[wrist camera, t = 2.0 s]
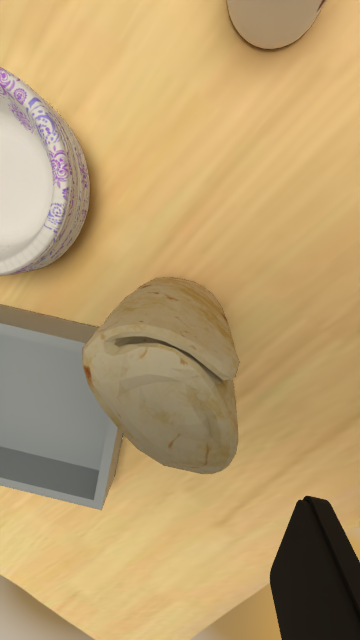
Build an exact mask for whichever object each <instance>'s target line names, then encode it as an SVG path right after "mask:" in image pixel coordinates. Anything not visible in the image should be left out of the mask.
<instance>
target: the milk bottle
mask: <svg viewBox="0 0 360 640" xmlns="http://www.w3.org/2000/svg"><path fill="white" fill-rule="evenodd" d="M325 1H326V0H227V5H228V11H229V14H230V18H231V20H232V23H233V25H234V27H235V28H236V30H237V31H238V32H239V34H240V35H241V36H242V37H243V38H244V39H245V40H246V41H247V42H249V43H251V44H252V45H254V46H256V47H260V48H263V49H275V48H281V47H283V46H286V45H289V44H291V43H293V42H294V41H296V40H297V39H299V38H300V37H301V36H302V35H303V34H304V33H305V32H306V31H307V30H308V29H309V28H310V27H311V25H312V24H313V23H314V21H315V19H316V18H317V16H318V14H319V12H320V10H321V9H322V7H323V5H324V3H325Z"/></svg>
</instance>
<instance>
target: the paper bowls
mask: <svg viewBox="0 0 360 640" xmlns="http://www.w3.org/2000/svg"><path fill="white" fill-rule="evenodd" d="M89 196H90V182H89V175H88V169H87V164H86V160H85V157H84V154H83V151H82V148H81V146H80V144H79V142H78V140H77V138H76V137H75V135H74V133H73V132H72V130H71V128H70V127H69V126H68V124H67V123H66V122H65V121H64V119H63V118H62V117H61V116H60V115H59V114H58V113H57V112H56V111H55V110H54V109H53V108H52V107H51V106H50V105H49V104H48V103H47V102H46V101H45V100H44V99H43V98H41V97H40V96H39V95H38V94H37V93H36V92H35V91H34V90H33V89H32V88H30V87H29V86H28V85H27V84H25V83H24V82H23V81H22V80H20V79H19V78H18V77H17V76H15V75H13V74H12V73H10V72H8V71H7V70H5V69H3V68H1V67H0V276H2V275H9V274H17V273H21V272H27V271H31V270H36V269H40V268H43V267H45V266H47V265H49V264H50V263H52V262H54V261H55V260H57V259H58V258H59V257H61V256H62V255H63V254H64V253H65V252H66V251H67V250H68V249H69V248H70V246H71V245H72V244H73V243H74V241H75V240H76V238H77V237H78V235H79V233H80V231H81V229H82V227H83V225H84V221H85V218H86V215H87V211H88V207H89Z"/></svg>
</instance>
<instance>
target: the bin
mask: <svg viewBox="0 0 360 640" xmlns="http://www.w3.org/2000/svg"><path fill="white" fill-rule="evenodd" d="M98 328H99V327H94V326H90V325H86V324H82V323H77V322H73V321H69V320H65V319H61V318H56V317H52V316H48V315H44V314H39V313H35V312H31V311H27V310H22V309H18V308H14V307H10V306H6V305H1V304H0V485H1V486H5V487H9V488H13V489H17V490H21V491H25V492H30V493H34V494H38V495H42V496H46V497H50V498H54V499H58V500H62V501H66V502H70V503H74V504H79V505H83V506H87V507H91V508H95V509H99V510H102V508H103V505H104V503H105V500H106V497H107V495H108V492H109V489H110V487H111V484H112V481H113V479H114V476H115V471H116V466H117V461H118V456H119V451H120V446H121V441H122V437H123V433H122V432H121V431H120V430H119V429H118V427H117V426H116V425H115V424H114V423H113V421H112V420H111V419H110V418H109V416H108V415H107V414H106V413H105V411H104V410H103V409H102V408H101V406H100V405H99V403H98V402H97V400H96V398H95V396H94V394H93V392H92V390H91V388H90V387H89V385H88V382H87V379H86V376H85V372H84V369H83V365H82V348H83V347H84V345H85V344H86V343H87V341H88V340H89V339H90V337H91V336H92V335H93V333H94V332H95V331H96V330H97V329H98Z"/></svg>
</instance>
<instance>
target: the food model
mask: <svg viewBox="0 0 360 640" xmlns="http://www.w3.org/2000/svg"><path fill="white" fill-rule="evenodd" d="M239 363H240V362H239V359H238V357H237V354H236V351H235V347H234V343H233V339H232V336H231V332H230V329H229V325H228V322H227V320H226V317H225V315H224V312H223V309H222V307H221V306H220V304H219V303H218V301H217V300H216V298H215V297H214V296H213V295H212V294H211V293H210V292H209V291H207V290H206V289H205V288H203V287H202V286H200V285H198V284H197V283H195V282H191V281H187V280H183V279H176V278H165V277H162V278H155V279H153V280H151V281H150V282H148V283H146V284H144V285H142V286H140V287H139V288H138V289H137V290H136V291H135V292H133V293H132V294H130V295H128V296H127V297H126V298H125V299H124V300H123V301H122V302H121V303H120V304H119V305H118V306H117V307H116V309H115V310H114V311H113V312H112V313H111V314H110V315H109V317H108V319H107V320H106V322H105V323H104V324H103V325H102V326H101V327H99V328H98V329H97V330H96V331H95V332H94V333H93V335H92V336H91V337H90V339H89V340H88V341H87V343H86V344H85V345H84V347H83V348H82V365H83V369H84V372H85V376H86V379H87V382H88V385H89V387H90V388H91V390H92V392H93V394H94V396H95V398H96V400H97V402H98V403H99V405H100V406H101V408H102V409H103V410H104V411H105V413H106V414H107V415H108V416H109V418H110V419H111V420H112V421H113V423H114V424H115V425H116V426H117V427H118V429H119V430H120V431H121V432H122V433H123V434H124V435H125V436H126V437H127V438H128V439H129V440H130V441H131V442H132V443H133V445H134V446H135V447H136V448H137V449H138V450H140V451H142V452H143V453H145V454H146V455H148V456H150V457H151V458H153V459H154V460H156V461H158V462H159V463H161V464H162V465H164V466H168V467H173V468H177V469H182V470H186V471H191V472H196V473H200V474H213V473H216V472H219V471H222V470H223V469H225V468H226V467H227V466H229V464H230V463H231V461H232V459H233V458H234V456H235V454H236V451H237V445H238V424H237V411H236V399H235V390H234V383H233V378H234V377H235V376H236V373H237V370H238V366H239Z"/></svg>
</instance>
